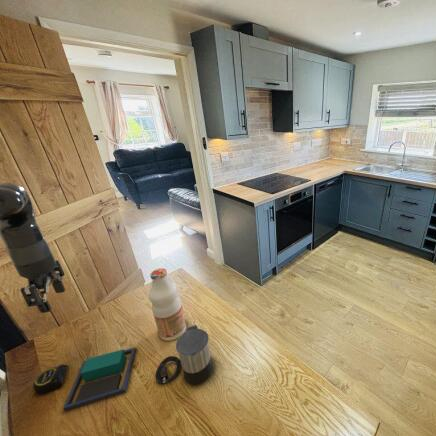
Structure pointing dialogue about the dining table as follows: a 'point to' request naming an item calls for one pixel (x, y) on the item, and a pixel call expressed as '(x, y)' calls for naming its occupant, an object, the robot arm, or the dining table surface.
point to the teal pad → (104, 365)
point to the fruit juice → (166, 306)
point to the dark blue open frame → (70, 405)
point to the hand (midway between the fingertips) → (54, 301)
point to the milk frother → (190, 358)
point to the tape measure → (50, 379)
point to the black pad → (98, 387)
